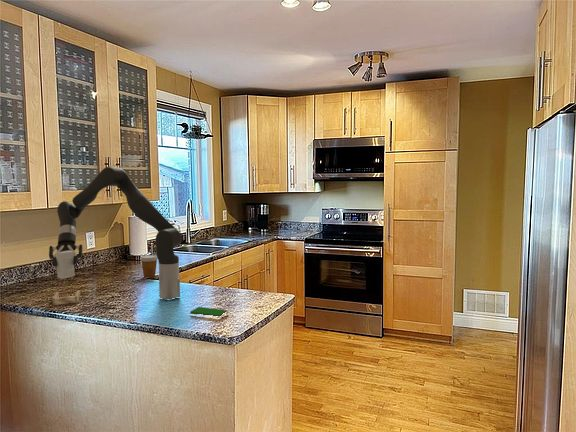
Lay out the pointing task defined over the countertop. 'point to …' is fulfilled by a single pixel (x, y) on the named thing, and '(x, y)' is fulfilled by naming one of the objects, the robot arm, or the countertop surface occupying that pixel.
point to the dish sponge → (208, 311)
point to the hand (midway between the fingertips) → (65, 265)
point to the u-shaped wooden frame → (65, 299)
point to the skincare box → (65, 264)
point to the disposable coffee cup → (149, 265)
